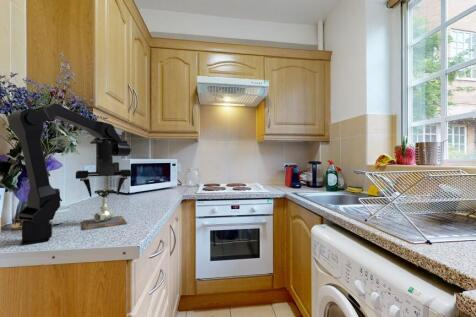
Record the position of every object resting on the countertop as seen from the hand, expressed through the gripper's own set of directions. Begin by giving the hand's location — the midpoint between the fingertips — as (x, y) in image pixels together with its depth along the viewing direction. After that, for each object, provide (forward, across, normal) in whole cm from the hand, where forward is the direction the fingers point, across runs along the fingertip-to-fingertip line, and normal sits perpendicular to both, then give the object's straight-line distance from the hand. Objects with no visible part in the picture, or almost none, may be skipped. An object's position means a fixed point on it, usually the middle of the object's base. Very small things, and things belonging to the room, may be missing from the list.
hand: (104, 195), depth 93 cm
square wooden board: (+10, 0, 0) cm, 11 cm away
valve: (+10, 0, 0) cm, 10 cm away
